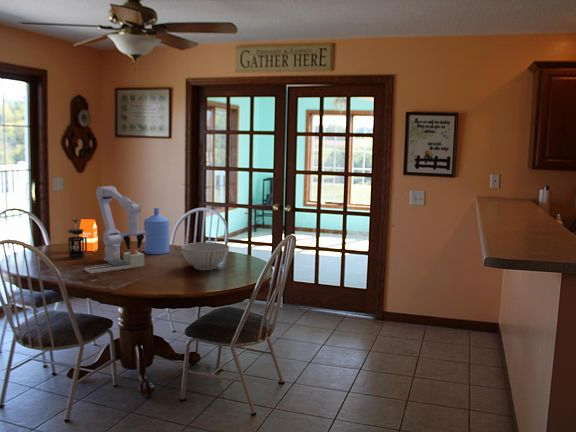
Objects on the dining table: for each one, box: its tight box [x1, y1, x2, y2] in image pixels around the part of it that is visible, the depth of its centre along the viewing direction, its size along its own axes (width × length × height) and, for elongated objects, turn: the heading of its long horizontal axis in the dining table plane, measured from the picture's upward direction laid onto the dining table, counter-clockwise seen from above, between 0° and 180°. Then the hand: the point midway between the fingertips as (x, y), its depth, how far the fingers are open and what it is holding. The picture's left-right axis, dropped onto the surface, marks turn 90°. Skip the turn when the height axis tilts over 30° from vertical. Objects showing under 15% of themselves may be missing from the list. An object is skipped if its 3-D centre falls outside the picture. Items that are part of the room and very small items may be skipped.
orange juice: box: [78, 218, 99, 252], centre depth 356 cm, size 8×9×20 cm
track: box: [84, 251, 145, 274], centre depth 313 cm, size 10×30×7 cm, turn 130°
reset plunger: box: [129, 248, 138, 254], centre depth 319 cm, size 4×4×4 cm
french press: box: [67, 218, 88, 260], centre depth 336 cm, size 12×9×23 cm
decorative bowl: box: [180, 241, 230, 271], centre depth 319 cm, size 27×27×12 cm
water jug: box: [143, 207, 170, 255], centre depth 356 cm, size 16×16×28 cm
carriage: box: [107, 252, 124, 265], centre depth 313 cm, size 7×6×6 cm
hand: (133, 248), depth 319 cm, fingers open, 6 cm apart
